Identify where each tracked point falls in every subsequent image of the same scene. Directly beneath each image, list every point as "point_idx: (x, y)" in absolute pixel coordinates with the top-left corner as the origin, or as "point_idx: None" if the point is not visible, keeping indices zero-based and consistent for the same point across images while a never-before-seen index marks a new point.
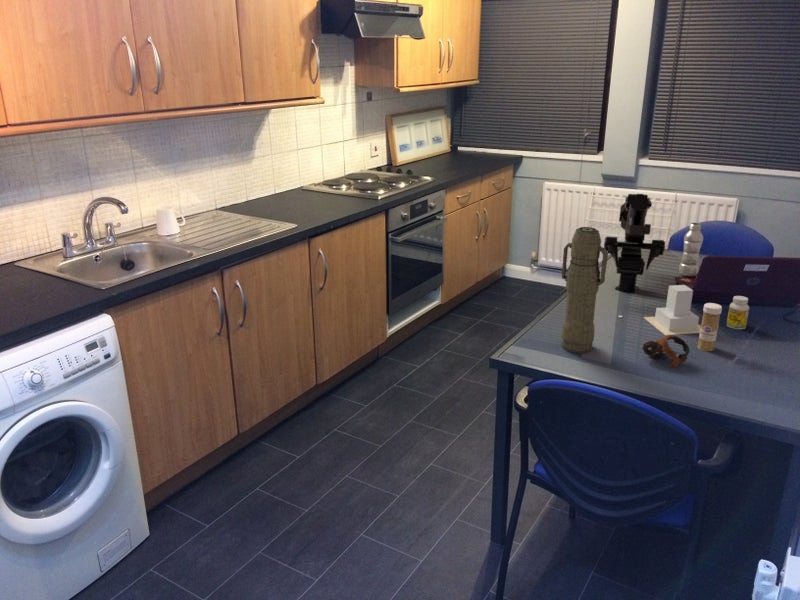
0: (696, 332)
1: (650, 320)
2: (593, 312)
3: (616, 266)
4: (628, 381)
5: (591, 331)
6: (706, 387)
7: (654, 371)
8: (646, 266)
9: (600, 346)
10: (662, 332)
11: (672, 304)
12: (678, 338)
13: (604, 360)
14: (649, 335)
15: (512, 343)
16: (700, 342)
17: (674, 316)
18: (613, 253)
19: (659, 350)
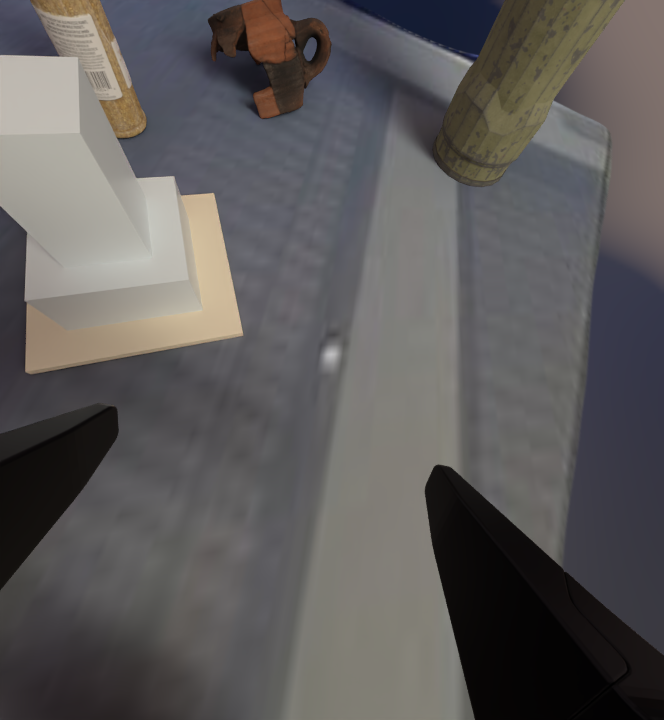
0: None
1: (223, 302)
2: (504, 2)
3: (447, 469)
4: (366, 38)
5: (468, 70)
6: (218, 4)
7: (306, 57)
8: (89, 447)
9: (412, 156)
10: (216, 209)
11: (127, 175)
12: (230, 8)
13: (406, 102)
14: (263, 206)
15: (605, 179)
16: (135, 93)
17: (144, 194)
18: (640, 643)
19: (270, 106)
